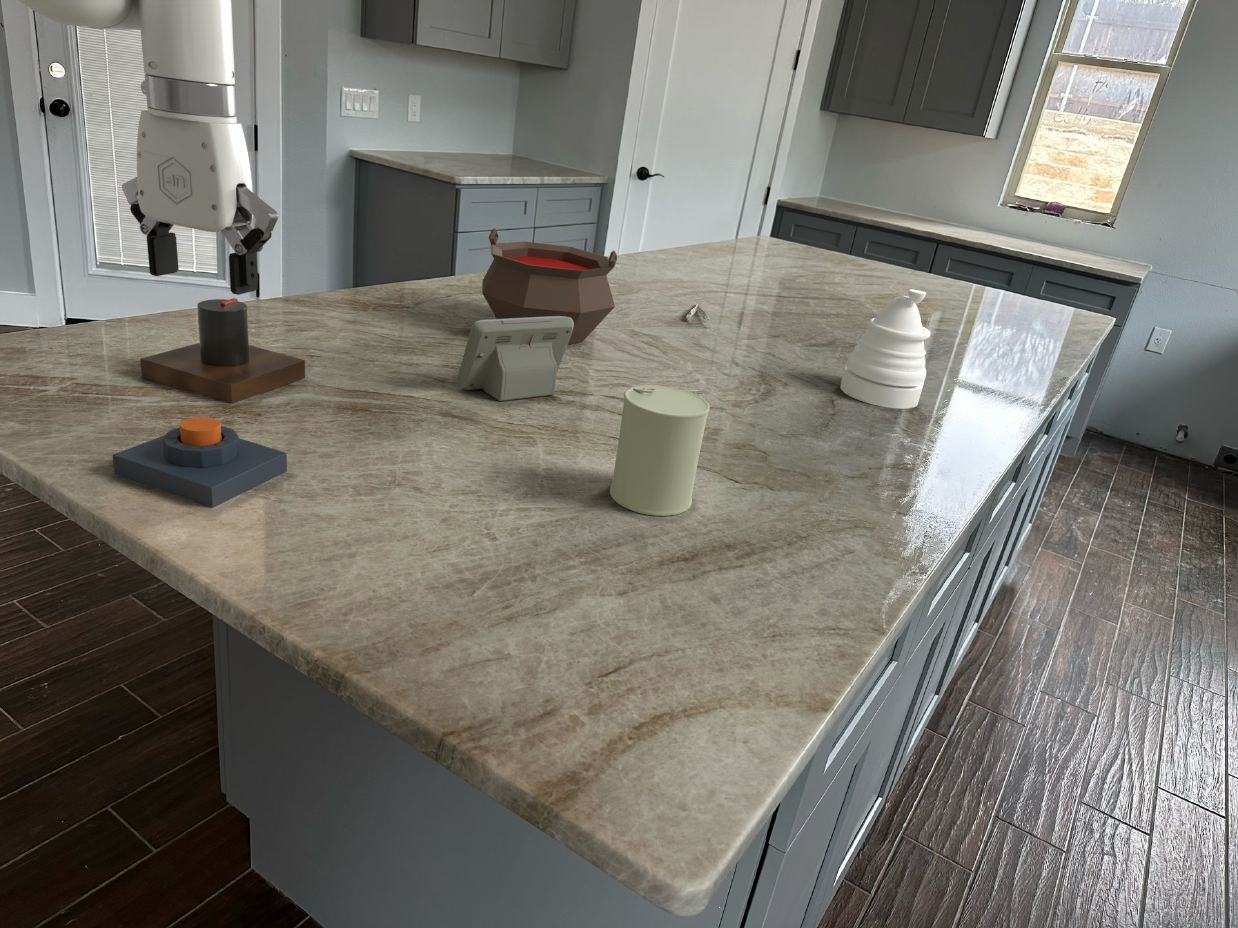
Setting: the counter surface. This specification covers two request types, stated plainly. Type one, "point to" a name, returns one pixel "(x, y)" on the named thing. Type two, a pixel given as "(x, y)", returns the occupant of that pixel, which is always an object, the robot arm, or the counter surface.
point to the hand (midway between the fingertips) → (204, 282)
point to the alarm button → (200, 431)
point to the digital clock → (515, 356)
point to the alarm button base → (201, 466)
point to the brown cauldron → (549, 283)
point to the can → (658, 449)
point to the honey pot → (890, 357)
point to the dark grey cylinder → (223, 332)
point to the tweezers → (700, 313)
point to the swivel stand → (223, 373)
